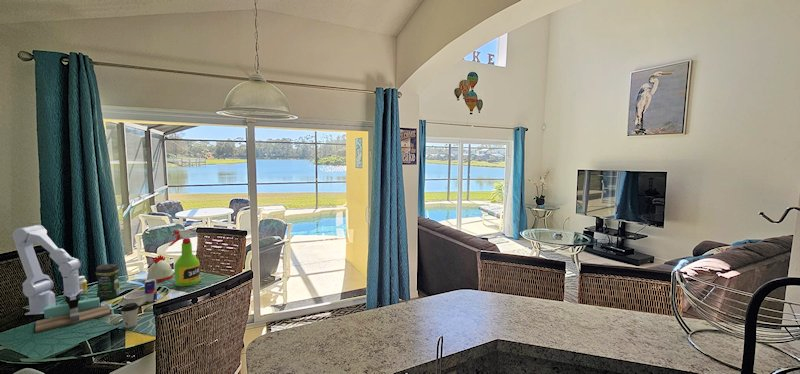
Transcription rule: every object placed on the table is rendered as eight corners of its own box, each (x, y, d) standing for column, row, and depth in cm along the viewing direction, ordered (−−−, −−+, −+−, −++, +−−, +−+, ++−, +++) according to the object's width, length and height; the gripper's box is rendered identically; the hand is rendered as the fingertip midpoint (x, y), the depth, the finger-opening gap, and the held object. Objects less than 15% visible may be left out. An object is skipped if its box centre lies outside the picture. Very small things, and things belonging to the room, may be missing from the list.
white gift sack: (141, 280, 215) (140, 258, 213) (160, 273, 228) (159, 251, 227) (160, 282, 212) (159, 259, 211) (178, 275, 226) (177, 253, 224)
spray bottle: (162, 287, 205) (160, 230, 202) (189, 277, 223) (187, 224, 219) (179, 290, 202) (177, 232, 198) (205, 279, 219) (203, 226, 215)
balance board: (36, 323, 161) (35, 316, 160) (107, 306, 179) (107, 300, 179) (35, 332, 152) (34, 325, 152) (110, 314, 171) (110, 307, 171)
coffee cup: (124, 330, 156) (123, 309, 155) (118, 326, 160) (117, 305, 159) (142, 324, 162) (141, 304, 161) (136, 320, 166) (135, 300, 165)
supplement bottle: (75, 295, 191) (74, 279, 190) (74, 293, 194) (72, 277, 193) (88, 293, 195) (87, 277, 194) (86, 290, 198) (85, 274, 197)
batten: (44, 319, 165) (43, 309, 164) (46, 316, 167) (45, 307, 167) (99, 308, 177) (98, 299, 177) (99, 306, 180) (99, 297, 179)
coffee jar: (94, 299, 186) (92, 267, 185) (104, 293, 194) (102, 262, 192) (114, 299, 188) (111, 266, 186) (123, 293, 196) (121, 262, 194)
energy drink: (150, 303, 183) (149, 282, 182) (142, 302, 184) (141, 281, 183) (159, 299, 188) (158, 278, 187) (151, 298, 190) (150, 278, 188)
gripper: (83, 285, 169) (85, 311, 170) (81, 277, 179) (83, 302, 180) (63, 289, 164) (65, 316, 165) (62, 281, 174) (64, 306, 175)
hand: (73, 309), depth 172 cm, fingers open, 5 cm apart
